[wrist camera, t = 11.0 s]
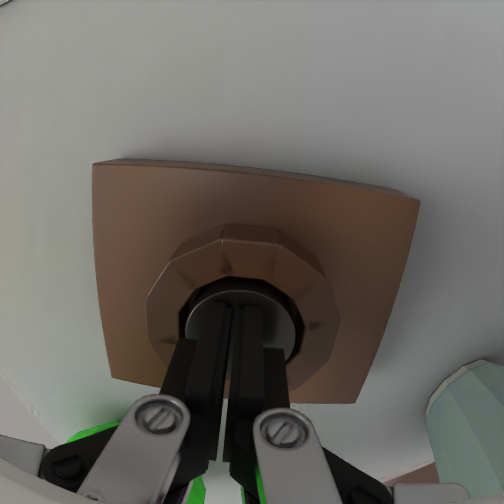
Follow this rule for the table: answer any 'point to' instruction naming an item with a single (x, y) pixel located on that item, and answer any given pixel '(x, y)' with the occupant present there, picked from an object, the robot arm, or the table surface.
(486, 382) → the disposable coffee cup
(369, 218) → the block
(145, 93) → the table surface
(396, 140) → the table surface
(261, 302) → the bell button
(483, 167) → the table surface
